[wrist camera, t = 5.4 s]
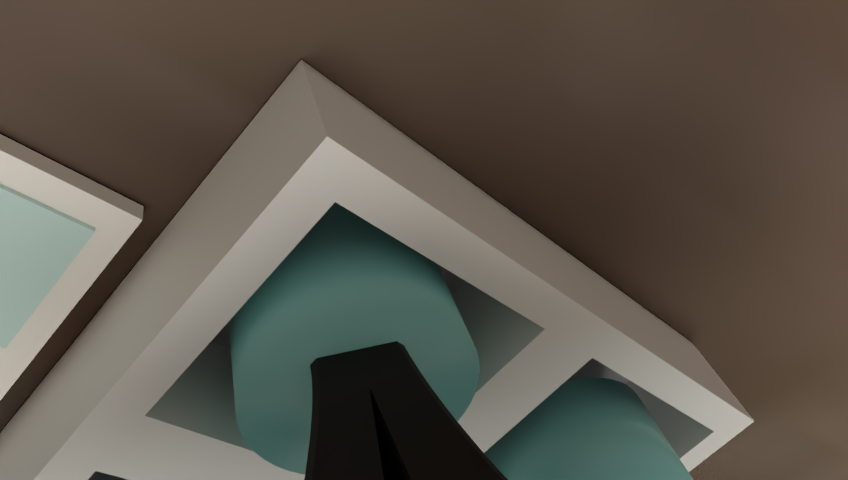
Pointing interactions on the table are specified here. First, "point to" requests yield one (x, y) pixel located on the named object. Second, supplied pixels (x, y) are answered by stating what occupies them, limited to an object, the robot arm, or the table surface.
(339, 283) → the button
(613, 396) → the button
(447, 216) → the button board
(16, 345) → the card
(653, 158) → the table surface
